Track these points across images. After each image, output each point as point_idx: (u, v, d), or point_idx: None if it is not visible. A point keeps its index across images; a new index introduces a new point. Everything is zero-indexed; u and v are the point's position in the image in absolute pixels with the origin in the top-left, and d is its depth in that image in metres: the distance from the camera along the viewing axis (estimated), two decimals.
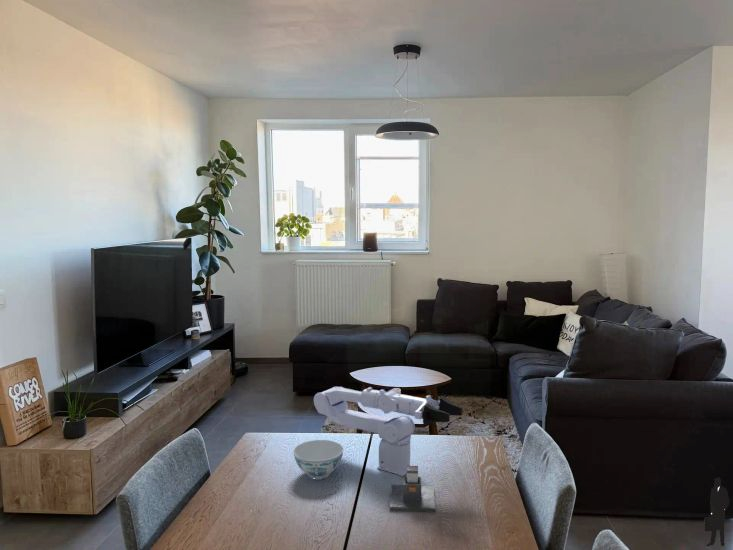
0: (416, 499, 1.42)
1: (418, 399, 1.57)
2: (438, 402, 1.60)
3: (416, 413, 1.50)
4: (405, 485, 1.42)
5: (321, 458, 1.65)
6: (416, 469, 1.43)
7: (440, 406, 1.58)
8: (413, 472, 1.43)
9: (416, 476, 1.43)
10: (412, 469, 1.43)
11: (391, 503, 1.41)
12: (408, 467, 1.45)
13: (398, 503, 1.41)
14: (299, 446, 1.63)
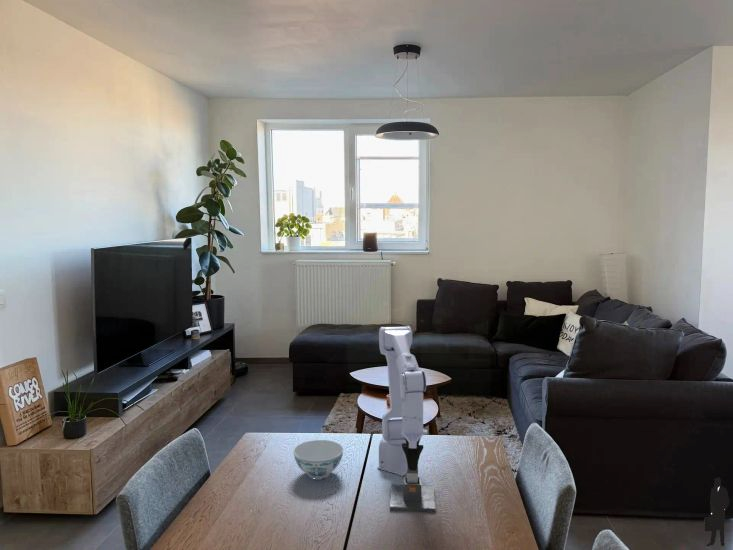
0: (416, 499, 1.42)
1: (422, 423, 1.42)
2: None
3: (414, 443, 1.36)
4: (405, 485, 1.42)
5: (321, 458, 1.65)
6: None
7: None
8: (413, 472, 1.43)
9: (416, 476, 1.43)
10: None
11: (391, 503, 1.41)
12: None
13: (398, 503, 1.41)
14: (299, 446, 1.63)
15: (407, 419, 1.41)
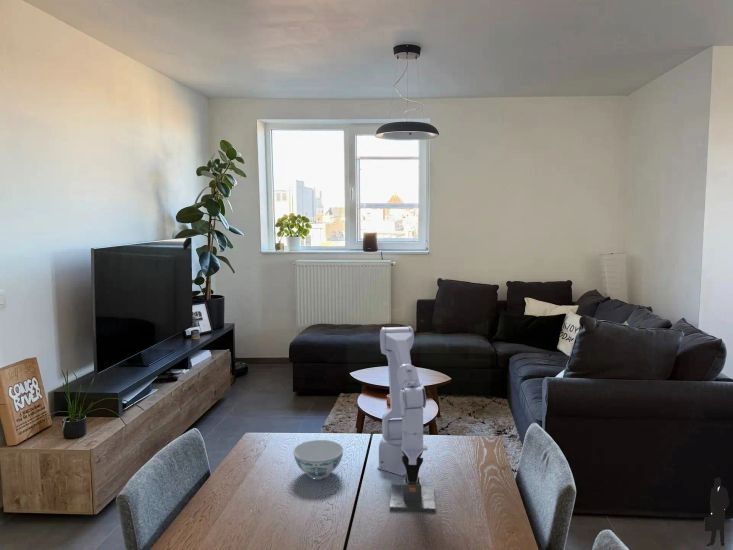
0: (416, 499, 1.42)
1: (422, 439, 1.42)
2: None
3: (414, 460, 1.36)
4: (405, 485, 1.42)
5: (321, 458, 1.65)
6: None
7: None
8: None
9: None
10: None
11: (391, 503, 1.41)
12: None
13: (398, 503, 1.41)
14: (299, 446, 1.63)
15: (407, 435, 1.41)
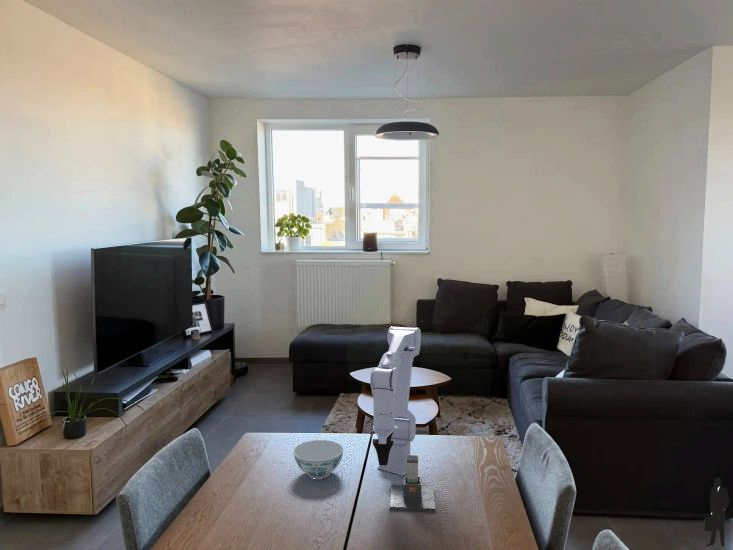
0: (416, 499, 1.42)
1: (393, 419, 1.45)
2: None
3: (384, 439, 1.39)
4: (405, 485, 1.42)
5: (321, 458, 1.65)
6: (416, 459, 1.43)
7: None
8: (413, 462, 1.43)
9: (416, 466, 1.43)
10: (412, 459, 1.43)
11: (391, 503, 1.41)
12: (408, 457, 1.44)
13: (398, 503, 1.41)
14: (299, 446, 1.63)
15: (378, 415, 1.44)
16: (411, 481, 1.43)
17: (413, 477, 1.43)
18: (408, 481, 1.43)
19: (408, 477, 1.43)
